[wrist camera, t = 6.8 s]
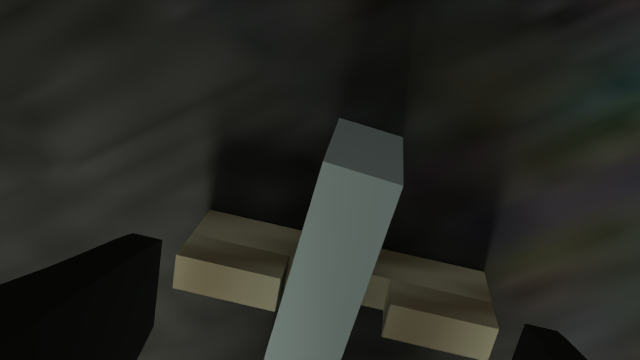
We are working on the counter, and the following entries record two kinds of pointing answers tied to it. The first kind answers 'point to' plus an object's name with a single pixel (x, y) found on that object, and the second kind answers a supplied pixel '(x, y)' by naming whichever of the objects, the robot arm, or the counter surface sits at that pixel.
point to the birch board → (382, 293)
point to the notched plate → (338, 243)
